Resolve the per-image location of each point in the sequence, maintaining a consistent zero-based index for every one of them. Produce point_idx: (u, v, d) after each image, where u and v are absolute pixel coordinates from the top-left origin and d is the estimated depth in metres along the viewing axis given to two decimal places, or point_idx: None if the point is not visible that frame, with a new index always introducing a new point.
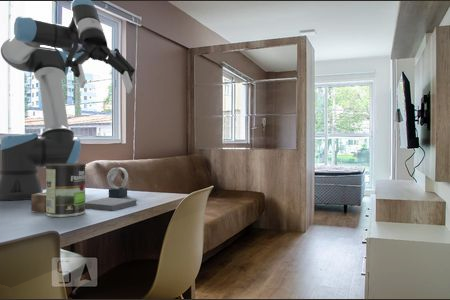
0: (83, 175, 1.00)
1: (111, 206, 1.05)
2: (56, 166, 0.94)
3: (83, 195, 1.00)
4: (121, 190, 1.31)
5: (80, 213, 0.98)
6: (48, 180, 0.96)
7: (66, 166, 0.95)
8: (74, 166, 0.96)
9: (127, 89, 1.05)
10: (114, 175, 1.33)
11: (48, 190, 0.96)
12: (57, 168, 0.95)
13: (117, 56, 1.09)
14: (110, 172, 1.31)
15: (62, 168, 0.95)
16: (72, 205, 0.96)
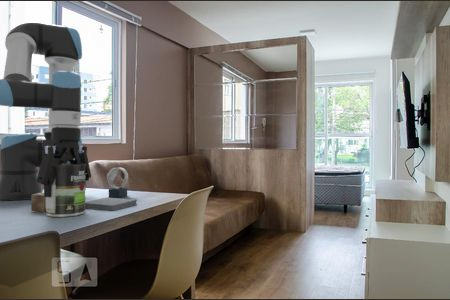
0: (83, 175, 1.00)
1: (111, 206, 1.05)
2: (56, 166, 0.94)
3: (83, 195, 1.00)
4: (121, 190, 1.31)
5: (80, 213, 0.98)
6: None
7: (66, 166, 0.95)
8: (74, 166, 0.96)
9: None
10: (114, 175, 1.33)
11: None
12: (57, 168, 0.95)
13: (82, 156, 1.05)
14: (110, 172, 1.31)
15: (62, 168, 0.95)
16: (72, 204, 0.96)
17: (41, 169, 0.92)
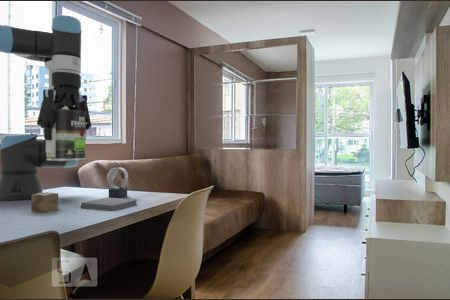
0: (83, 121, 0.99)
1: (111, 206, 1.05)
2: (56, 110, 0.94)
3: (83, 142, 1.00)
4: (121, 190, 1.31)
5: (80, 159, 0.98)
6: None
7: (66, 110, 0.95)
8: (74, 111, 0.96)
9: None
10: (114, 175, 1.33)
11: None
12: (57, 112, 0.94)
13: (82, 104, 1.05)
14: (110, 172, 1.31)
15: (62, 112, 0.95)
16: (73, 149, 0.96)
17: (41, 112, 0.92)
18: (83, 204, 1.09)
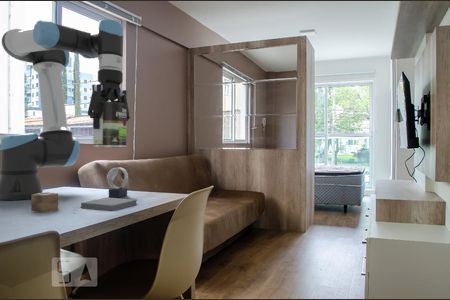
0: (125, 113, 1.12)
1: (111, 206, 1.05)
2: (103, 102, 1.07)
3: (125, 131, 1.12)
4: (121, 190, 1.31)
5: (123, 146, 1.11)
6: None
7: (112, 102, 1.08)
8: (119, 103, 1.09)
9: None
10: (114, 175, 1.33)
11: None
12: (104, 104, 1.07)
13: (122, 98, 1.17)
14: (110, 172, 1.31)
15: (108, 104, 1.07)
16: (117, 137, 1.09)
17: (91, 104, 1.05)
18: (83, 204, 1.09)
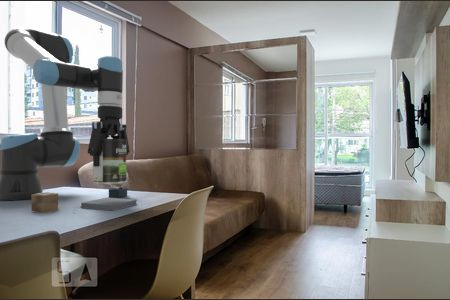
0: (125, 148, 1.12)
1: (111, 206, 1.05)
2: (103, 139, 1.07)
3: (125, 166, 1.12)
4: (121, 190, 1.31)
5: (123, 182, 1.11)
6: None
7: (112, 139, 1.08)
8: (119, 140, 1.09)
9: None
10: None
11: None
12: (104, 141, 1.07)
13: (122, 132, 1.17)
14: None
15: (108, 141, 1.08)
16: (117, 174, 1.09)
17: (91, 142, 1.05)
18: (83, 204, 1.09)
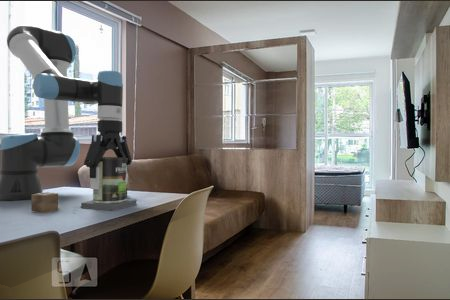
0: (125, 167, 1.13)
1: (111, 206, 1.05)
2: (103, 159, 1.08)
3: (125, 185, 1.13)
4: None
5: (123, 200, 1.11)
6: None
7: (112, 159, 1.08)
8: (118, 159, 1.09)
9: None
10: None
11: None
12: (104, 160, 1.08)
13: (123, 144, 1.18)
14: None
15: (108, 161, 1.08)
16: (117, 193, 1.09)
17: (89, 153, 1.04)
18: (83, 204, 1.09)
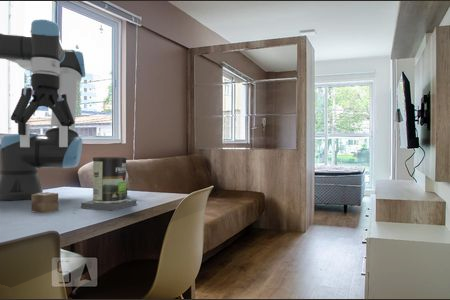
0: (125, 167, 1.13)
1: (111, 206, 1.05)
2: (103, 159, 1.08)
3: (125, 185, 1.13)
4: None
5: (123, 200, 1.11)
6: (95, 171, 1.09)
7: (112, 159, 1.08)
8: (118, 159, 1.09)
9: (61, 144, 1.10)
10: None
11: (95, 180, 1.09)
12: (104, 160, 1.08)
13: (63, 103, 1.09)
14: None
15: (108, 161, 1.08)
16: (117, 193, 1.09)
17: (17, 108, 0.95)
18: (83, 204, 1.09)
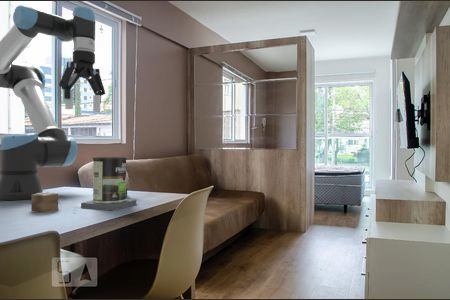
0: (125, 167, 1.13)
1: (111, 206, 1.05)
2: (103, 159, 1.08)
3: (125, 185, 1.13)
4: None
5: (123, 200, 1.11)
6: (96, 171, 1.09)
7: (112, 159, 1.08)
8: (118, 159, 1.09)
9: (94, 110, 1.34)
10: None
11: (96, 180, 1.09)
12: (104, 160, 1.08)
13: (96, 76, 1.33)
14: None
15: (108, 161, 1.08)
16: (117, 193, 1.09)
17: (63, 76, 1.19)
18: (83, 204, 1.09)
